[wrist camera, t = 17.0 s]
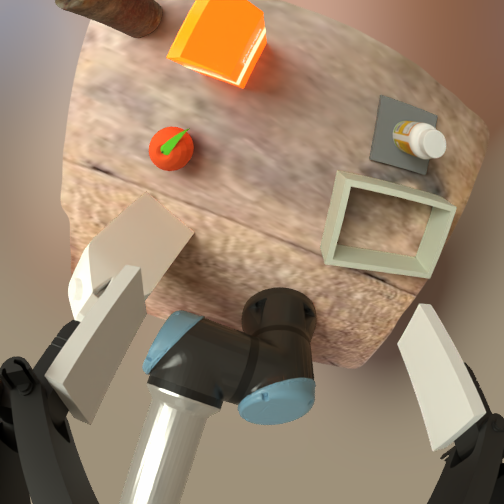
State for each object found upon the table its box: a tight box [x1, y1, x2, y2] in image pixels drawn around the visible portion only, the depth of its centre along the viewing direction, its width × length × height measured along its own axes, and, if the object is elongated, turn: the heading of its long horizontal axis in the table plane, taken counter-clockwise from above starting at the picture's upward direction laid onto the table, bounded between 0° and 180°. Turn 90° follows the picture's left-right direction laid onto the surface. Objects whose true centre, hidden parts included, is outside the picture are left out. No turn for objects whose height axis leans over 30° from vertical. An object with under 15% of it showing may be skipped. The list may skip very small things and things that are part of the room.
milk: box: [68, 191, 195, 322], centre depth 39 cm, size 12×12×26 cm
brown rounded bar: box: [55, 0, 162, 38], centre depth 22 cm, size 8×7×20 cm
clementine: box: [149, 127, 194, 171], centre depth 39 cm, size 8×7×7 cm
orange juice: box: [166, 0, 267, 89], centre depth 26 cm, size 8×9×20 cm
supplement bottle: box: [393, 121, 446, 159], centre depth 33 cm, size 5×5×10 cm
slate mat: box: [369, 95, 437, 175], centre depth 38 cm, size 11×11×1 cm
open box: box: [320, 170, 457, 278], centre depth 43 cm, size 14×21×6 cm, turn 83°
